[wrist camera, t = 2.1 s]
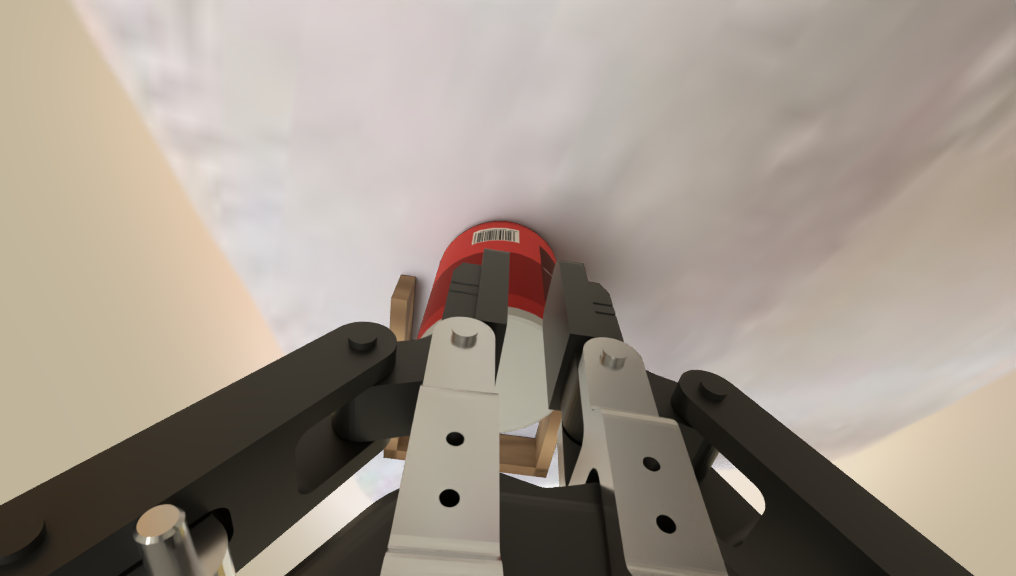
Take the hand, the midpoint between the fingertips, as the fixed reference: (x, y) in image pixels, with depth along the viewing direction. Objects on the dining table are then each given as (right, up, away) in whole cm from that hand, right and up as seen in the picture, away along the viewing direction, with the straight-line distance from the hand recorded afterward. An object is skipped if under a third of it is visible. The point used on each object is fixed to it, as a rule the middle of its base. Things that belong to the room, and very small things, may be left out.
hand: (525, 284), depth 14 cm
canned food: (-1, +1, +19) cm, 19 cm away
